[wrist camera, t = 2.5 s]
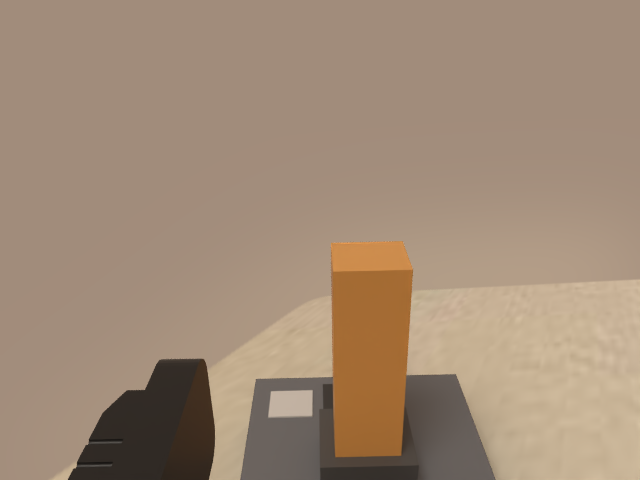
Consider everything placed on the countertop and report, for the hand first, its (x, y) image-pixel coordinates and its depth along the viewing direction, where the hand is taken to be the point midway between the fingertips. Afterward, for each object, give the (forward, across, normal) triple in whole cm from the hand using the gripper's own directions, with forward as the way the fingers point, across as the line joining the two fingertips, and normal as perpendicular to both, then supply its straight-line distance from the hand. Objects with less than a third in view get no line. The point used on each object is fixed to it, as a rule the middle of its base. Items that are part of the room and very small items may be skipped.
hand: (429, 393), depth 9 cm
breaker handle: (+11, 0, +13) cm, 17 cm away
